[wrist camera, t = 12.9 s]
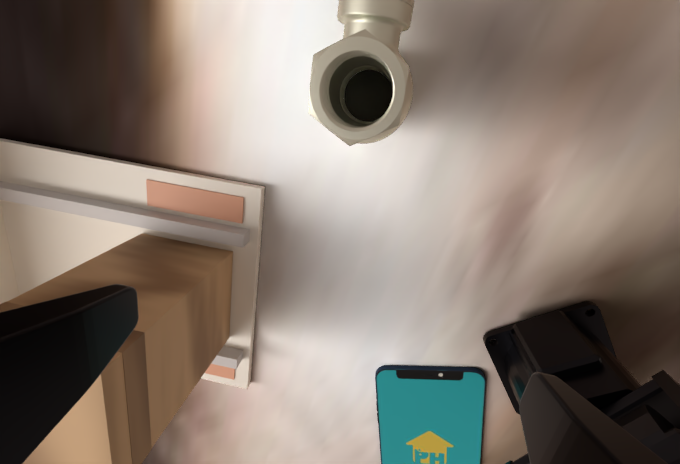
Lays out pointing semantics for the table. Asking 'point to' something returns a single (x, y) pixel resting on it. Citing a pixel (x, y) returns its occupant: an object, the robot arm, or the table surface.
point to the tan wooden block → (142, 346)
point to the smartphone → (430, 414)
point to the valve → (363, 68)
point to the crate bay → (126, 226)
